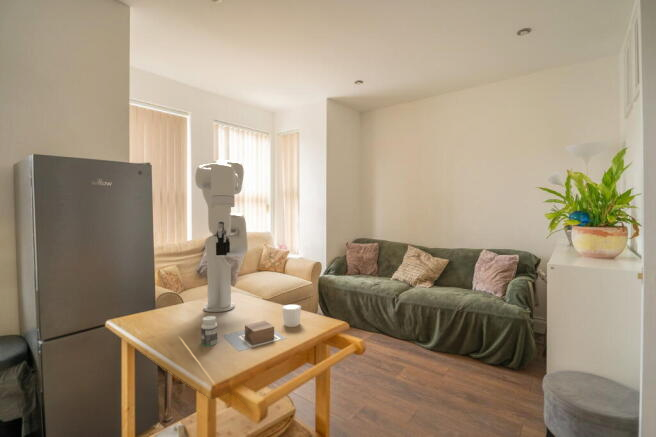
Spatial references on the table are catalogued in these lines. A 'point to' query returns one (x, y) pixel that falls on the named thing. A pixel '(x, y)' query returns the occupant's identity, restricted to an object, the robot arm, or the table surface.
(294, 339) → the table surface
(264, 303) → the table surface
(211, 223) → the robot arm
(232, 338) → the blueprint board
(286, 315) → the white cylinder
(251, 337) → the walnut base block
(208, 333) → the pill bottle
